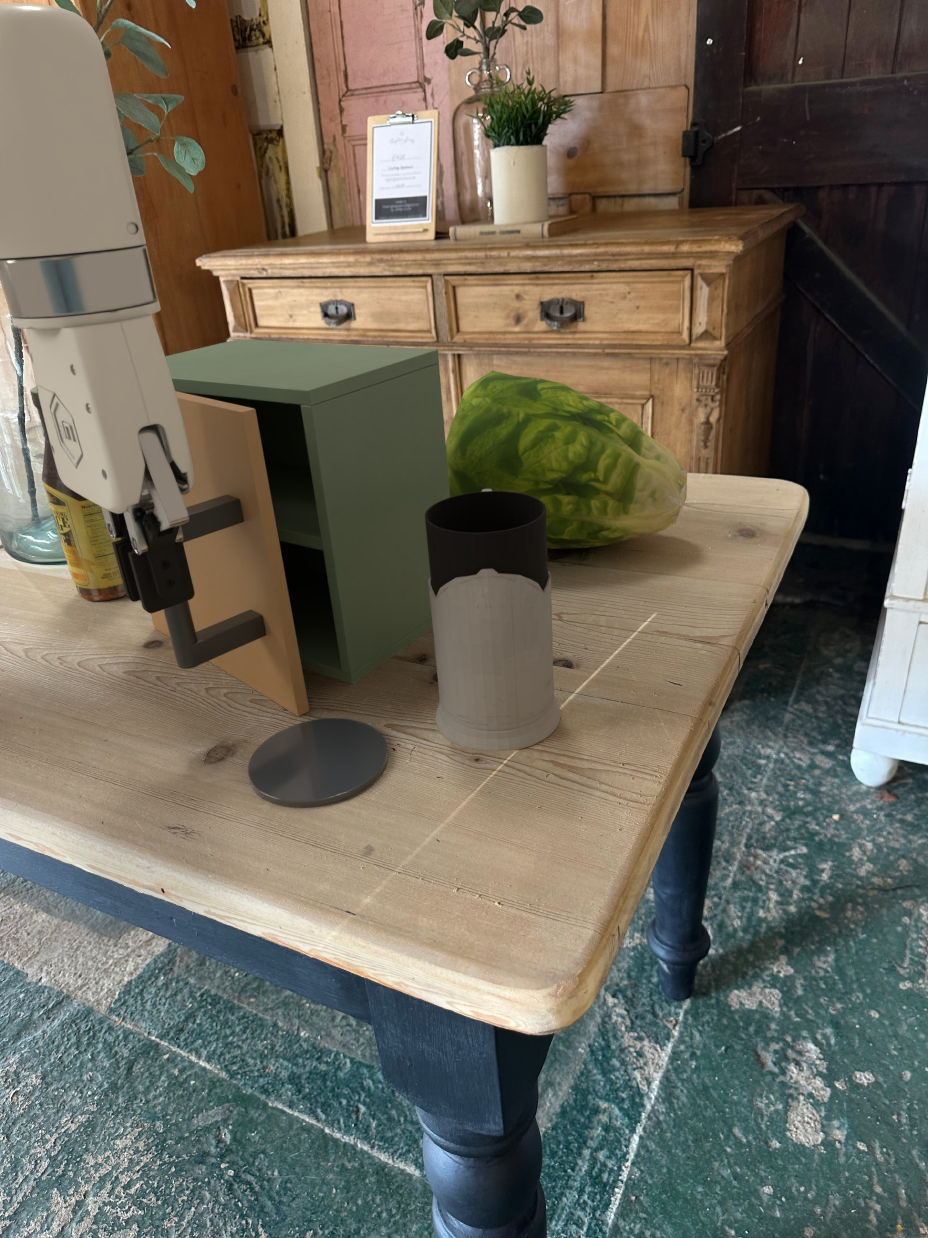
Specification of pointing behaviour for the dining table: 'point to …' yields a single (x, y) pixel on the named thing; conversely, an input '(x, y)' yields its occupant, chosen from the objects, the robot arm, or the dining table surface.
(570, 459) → the lettuce
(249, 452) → the cupboard door
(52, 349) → the robot arm
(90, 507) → the sauce bottle
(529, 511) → the glass holder
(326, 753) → the coaster
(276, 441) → the cupboard
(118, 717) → the dining table surface
